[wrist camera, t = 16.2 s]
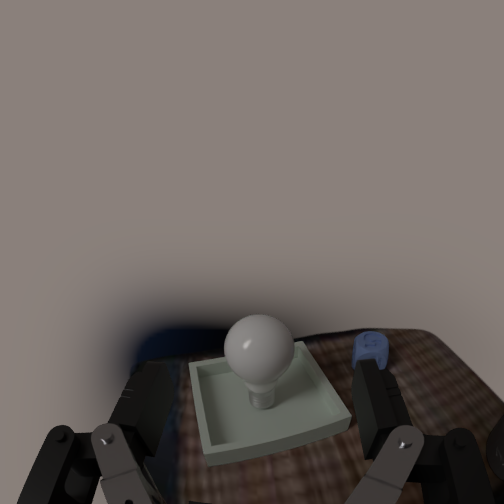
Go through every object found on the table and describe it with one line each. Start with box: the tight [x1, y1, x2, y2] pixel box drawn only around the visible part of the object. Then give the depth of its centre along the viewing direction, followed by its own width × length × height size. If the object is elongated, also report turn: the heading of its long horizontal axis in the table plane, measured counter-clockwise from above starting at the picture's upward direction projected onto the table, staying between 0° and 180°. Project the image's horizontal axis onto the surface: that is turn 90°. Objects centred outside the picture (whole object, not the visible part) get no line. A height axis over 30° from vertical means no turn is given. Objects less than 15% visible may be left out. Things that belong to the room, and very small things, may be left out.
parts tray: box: [189, 341, 352, 467], centre depth 30 cm, size 14×13×2 cm
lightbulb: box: [224, 314, 295, 409], centre depth 28 cm, size 6×6×11 cm
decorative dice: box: [352, 331, 389, 370], centre depth 34 cm, size 4×4×4 cm
